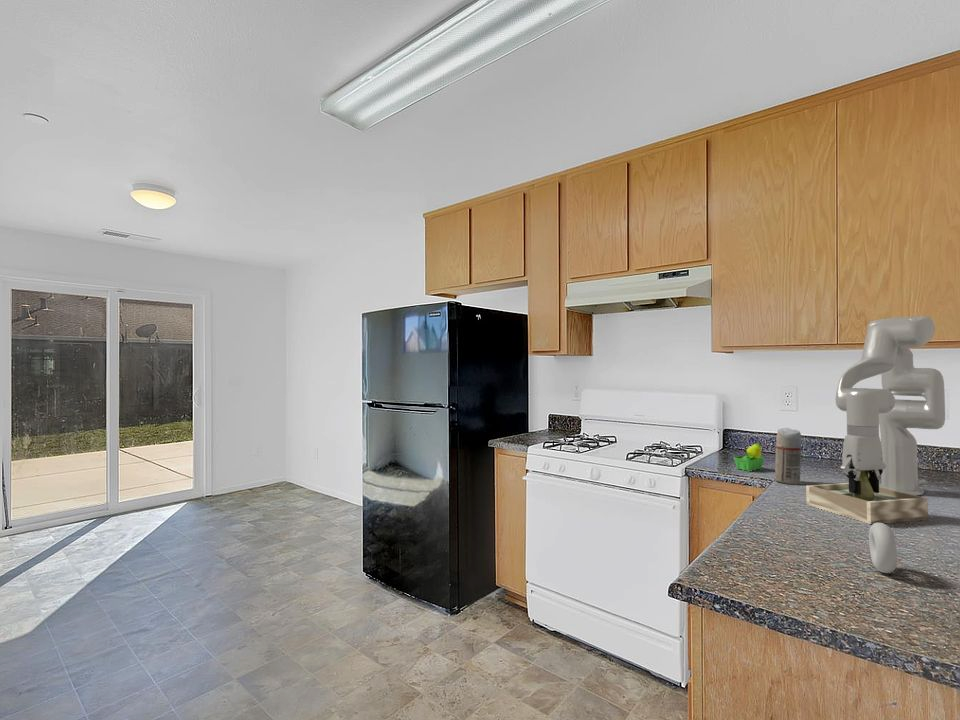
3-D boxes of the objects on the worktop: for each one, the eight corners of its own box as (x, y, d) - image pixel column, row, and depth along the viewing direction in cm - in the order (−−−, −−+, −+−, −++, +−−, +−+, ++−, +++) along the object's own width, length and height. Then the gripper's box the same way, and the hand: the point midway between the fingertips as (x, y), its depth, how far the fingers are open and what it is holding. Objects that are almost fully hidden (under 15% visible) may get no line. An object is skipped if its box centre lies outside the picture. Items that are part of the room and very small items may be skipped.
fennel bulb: (865, 499, 147) (864, 459, 148) (880, 504, 142) (879, 462, 143) (848, 500, 146) (847, 460, 147) (863, 505, 142) (862, 463, 142)
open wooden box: (858, 501, 156) (858, 482, 156) (928, 519, 137) (927, 498, 137) (806, 505, 152) (806, 485, 152) (870, 524, 132) (870, 502, 133)
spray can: (798, 480, 185) (797, 427, 186) (804, 485, 177) (803, 430, 178) (772, 479, 188) (771, 427, 188) (777, 483, 180) (777, 429, 181)
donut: (867, 561, 107) (866, 515, 107) (887, 564, 105) (886, 518, 106) (877, 578, 98) (876, 528, 99) (899, 582, 97) (898, 531, 97)
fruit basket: (748, 466, 213) (747, 440, 213) (768, 470, 205) (768, 443, 205) (732, 469, 207) (732, 442, 207) (753, 473, 199) (753, 445, 199)
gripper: (873, 429, 150) (874, 487, 150) (827, 431, 147) (828, 491, 146) (899, 432, 143) (900, 494, 143) (851, 434, 139) (852, 497, 139)
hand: (863, 492), depth 145 cm, fingers closed on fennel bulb, 5 cm apart
